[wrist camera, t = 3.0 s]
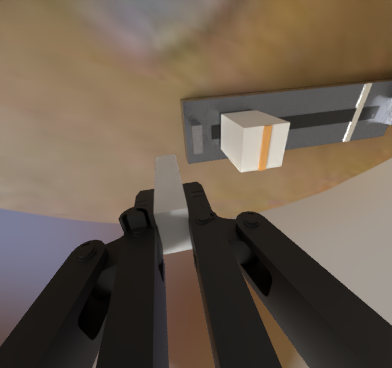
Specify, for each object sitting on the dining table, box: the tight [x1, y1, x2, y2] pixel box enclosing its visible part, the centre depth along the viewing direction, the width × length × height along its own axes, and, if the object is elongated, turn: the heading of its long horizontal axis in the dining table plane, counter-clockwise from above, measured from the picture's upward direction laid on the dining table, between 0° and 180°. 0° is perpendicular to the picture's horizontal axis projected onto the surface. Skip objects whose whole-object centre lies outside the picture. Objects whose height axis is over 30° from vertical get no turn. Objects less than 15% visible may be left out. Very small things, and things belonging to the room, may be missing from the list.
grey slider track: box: [180, 79, 392, 164], centre depth 22 cm, size 7×28×4 cm, turn 94°
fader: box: [221, 110, 290, 172], centre depth 18 cm, size 4×4×6 cm
